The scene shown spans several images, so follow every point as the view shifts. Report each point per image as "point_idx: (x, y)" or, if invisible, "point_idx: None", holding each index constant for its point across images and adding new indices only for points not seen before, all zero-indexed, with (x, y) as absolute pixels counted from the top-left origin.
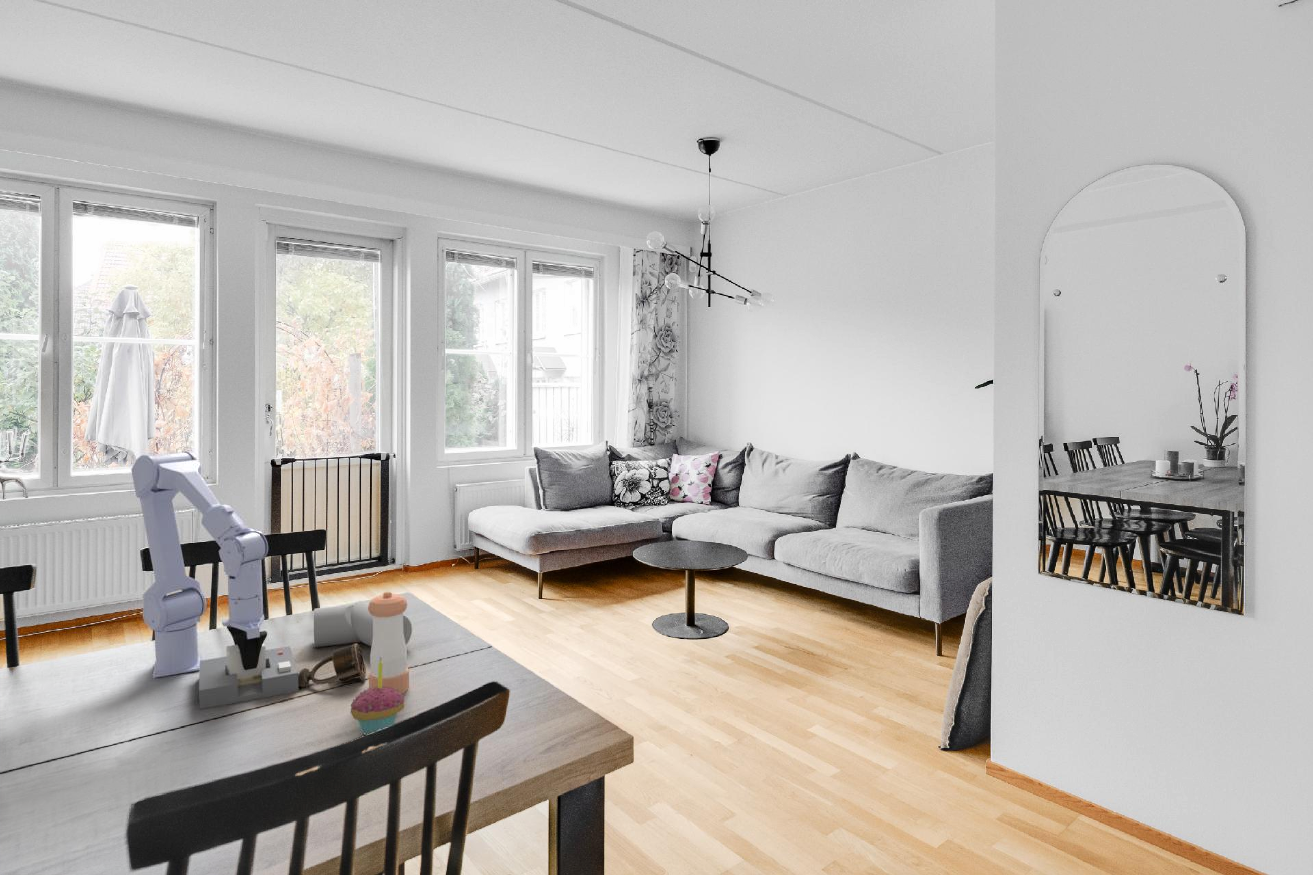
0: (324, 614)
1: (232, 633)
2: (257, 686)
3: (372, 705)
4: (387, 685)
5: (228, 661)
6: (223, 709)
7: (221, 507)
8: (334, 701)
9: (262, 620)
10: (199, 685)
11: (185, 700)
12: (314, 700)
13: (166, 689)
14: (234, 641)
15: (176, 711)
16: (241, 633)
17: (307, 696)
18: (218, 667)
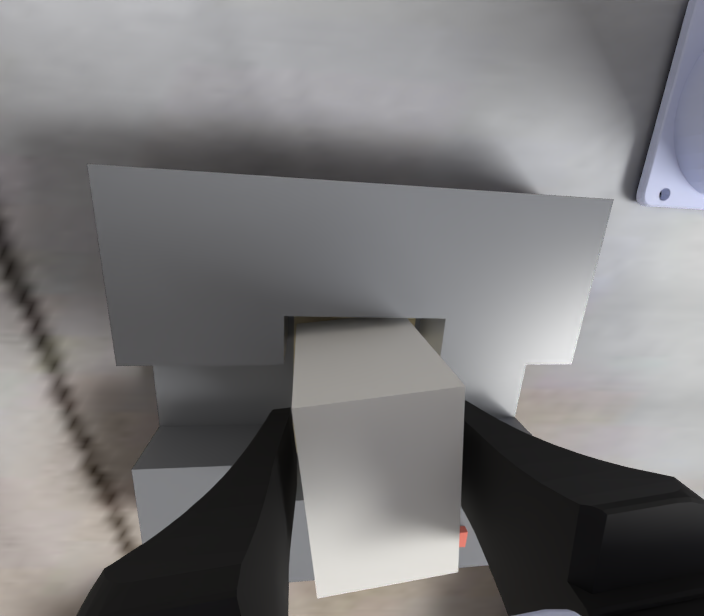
0: None
1: (540, 496)
2: (241, 410)
3: None
4: None
5: (358, 354)
6: (97, 269)
7: None
8: (12, 610)
9: None
10: (182, 171)
11: (300, 118)
12: (51, 559)
13: (501, 40)
14: (494, 450)
15: (169, 65)
16: (524, 542)
17: (104, 541)
18: (437, 286)
